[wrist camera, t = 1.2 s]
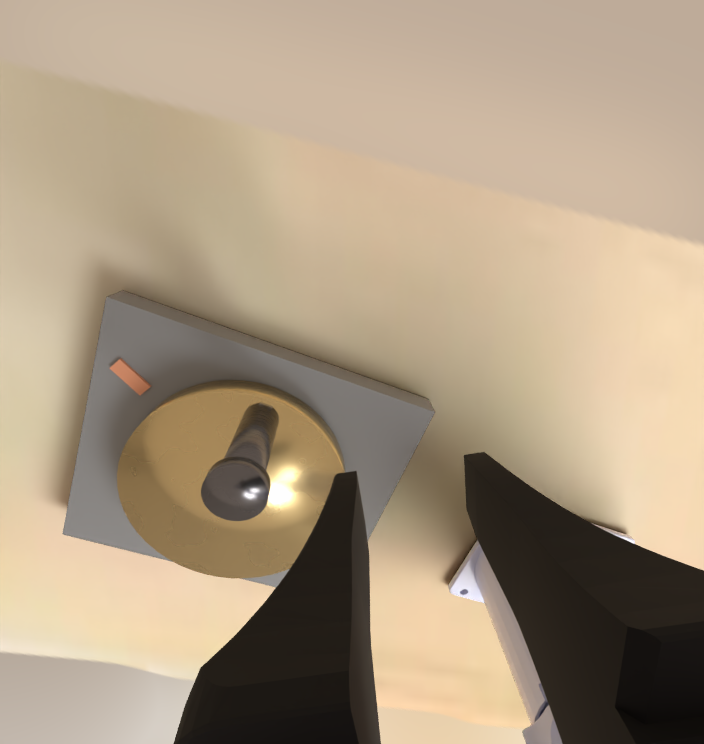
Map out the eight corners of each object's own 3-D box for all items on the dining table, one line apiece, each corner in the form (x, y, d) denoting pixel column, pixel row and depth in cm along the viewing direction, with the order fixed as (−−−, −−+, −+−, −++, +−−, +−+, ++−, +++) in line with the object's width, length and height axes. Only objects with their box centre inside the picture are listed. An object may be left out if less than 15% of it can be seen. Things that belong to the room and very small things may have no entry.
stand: (428, 399, 22) (435, 413, 20) (335, 581, 26) (335, 604, 25) (122, 290, 19) (104, 297, 17) (78, 515, 24) (60, 536, 22)
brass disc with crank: (305, 575, 24) (294, 706, 18) (113, 526, 22) (25, 653, 16) (378, 420, 20) (398, 514, 14) (157, 345, 18) (65, 415, 12)
